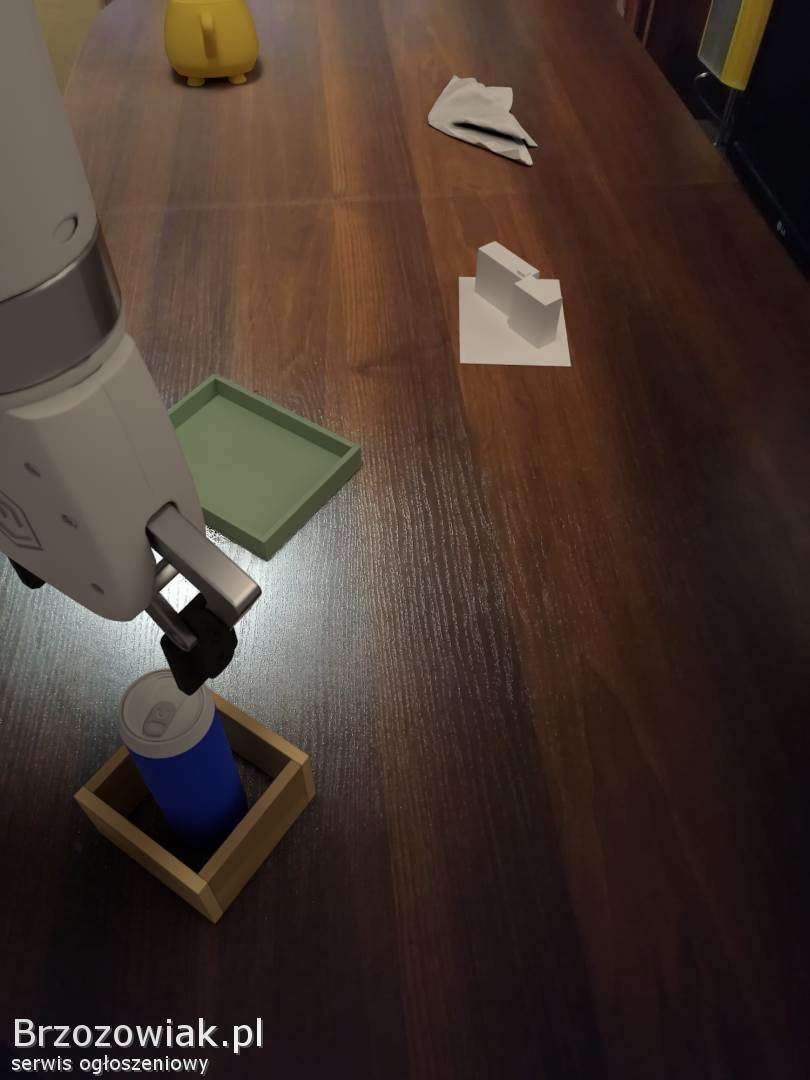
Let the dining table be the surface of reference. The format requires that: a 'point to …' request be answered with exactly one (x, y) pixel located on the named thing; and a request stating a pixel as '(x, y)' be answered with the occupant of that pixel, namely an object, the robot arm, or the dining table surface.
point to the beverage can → (183, 757)
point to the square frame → (249, 842)
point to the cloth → (481, 118)
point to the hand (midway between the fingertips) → (129, 615)
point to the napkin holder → (510, 313)
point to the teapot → (210, 39)
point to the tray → (258, 463)
